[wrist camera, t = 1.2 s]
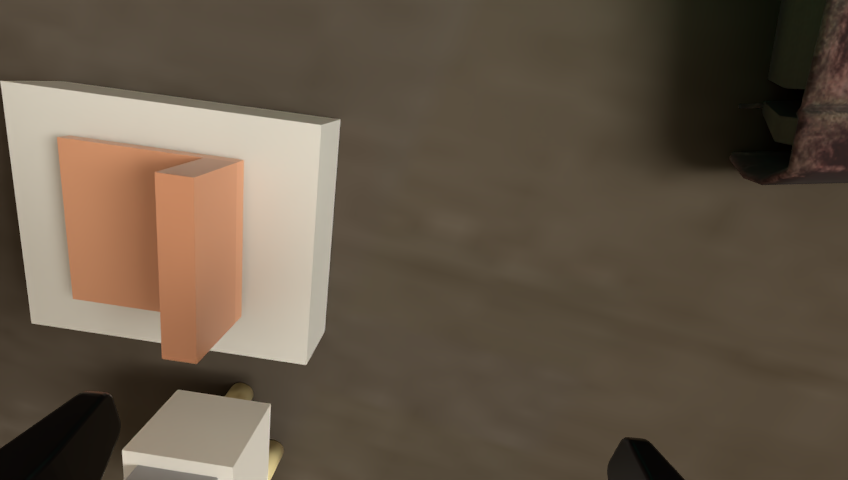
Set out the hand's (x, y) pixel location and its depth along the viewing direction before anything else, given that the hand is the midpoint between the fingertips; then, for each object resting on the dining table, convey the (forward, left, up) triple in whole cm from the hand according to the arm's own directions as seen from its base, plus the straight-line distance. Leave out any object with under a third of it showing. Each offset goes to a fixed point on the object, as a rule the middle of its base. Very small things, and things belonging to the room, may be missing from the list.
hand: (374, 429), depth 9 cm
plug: (-12, +8, -14) cm, 20 cm away
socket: (-1, +10, -14) cm, 17 cm away
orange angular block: (-1, +10, -10) cm, 15 cm away
